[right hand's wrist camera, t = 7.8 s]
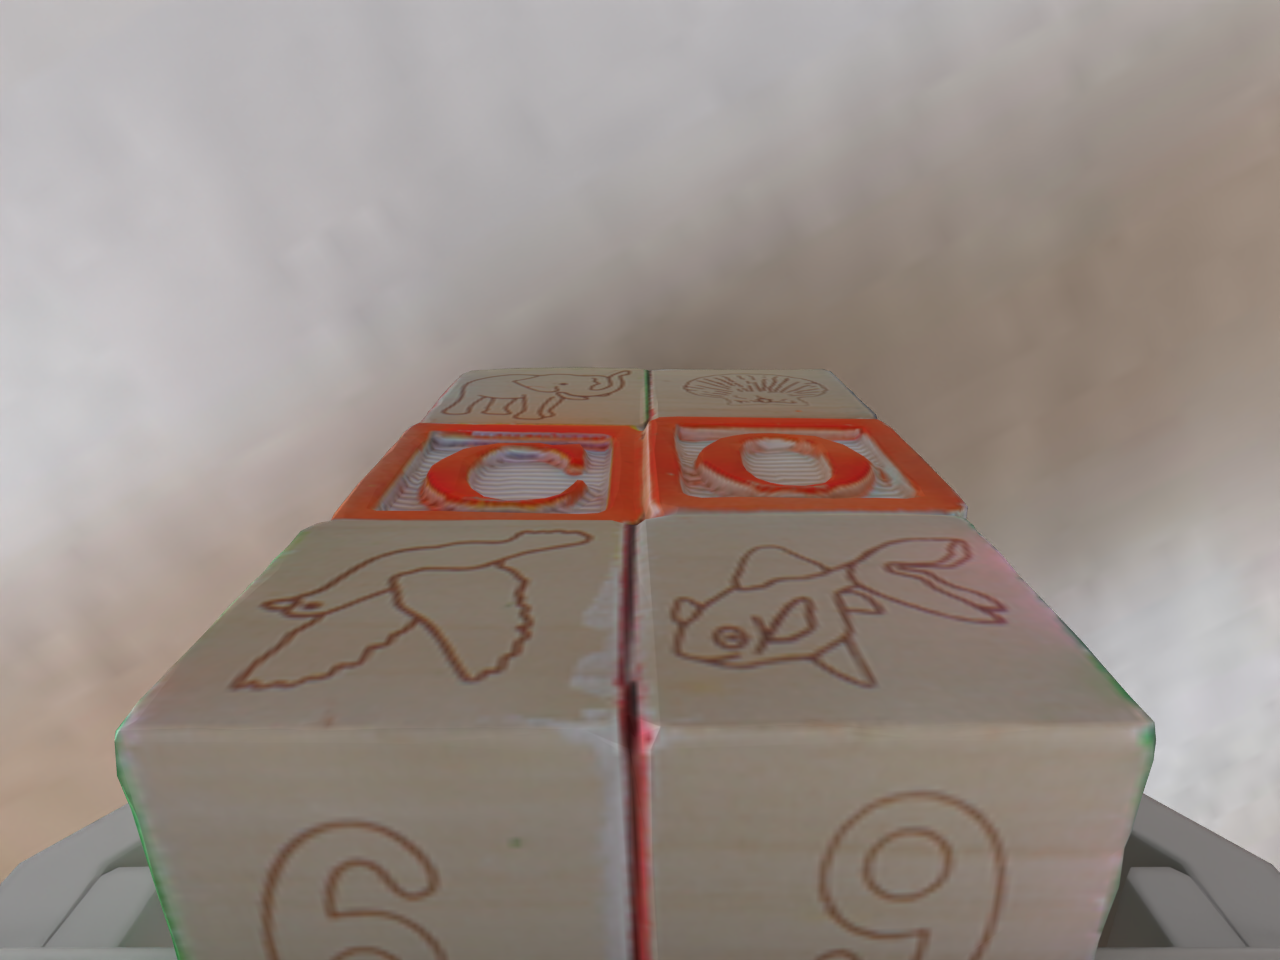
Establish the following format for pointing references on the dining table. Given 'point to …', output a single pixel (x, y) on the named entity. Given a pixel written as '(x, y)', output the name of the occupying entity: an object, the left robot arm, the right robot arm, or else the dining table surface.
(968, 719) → the stack of blocks
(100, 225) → the dining table surface
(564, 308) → the dining table surface
